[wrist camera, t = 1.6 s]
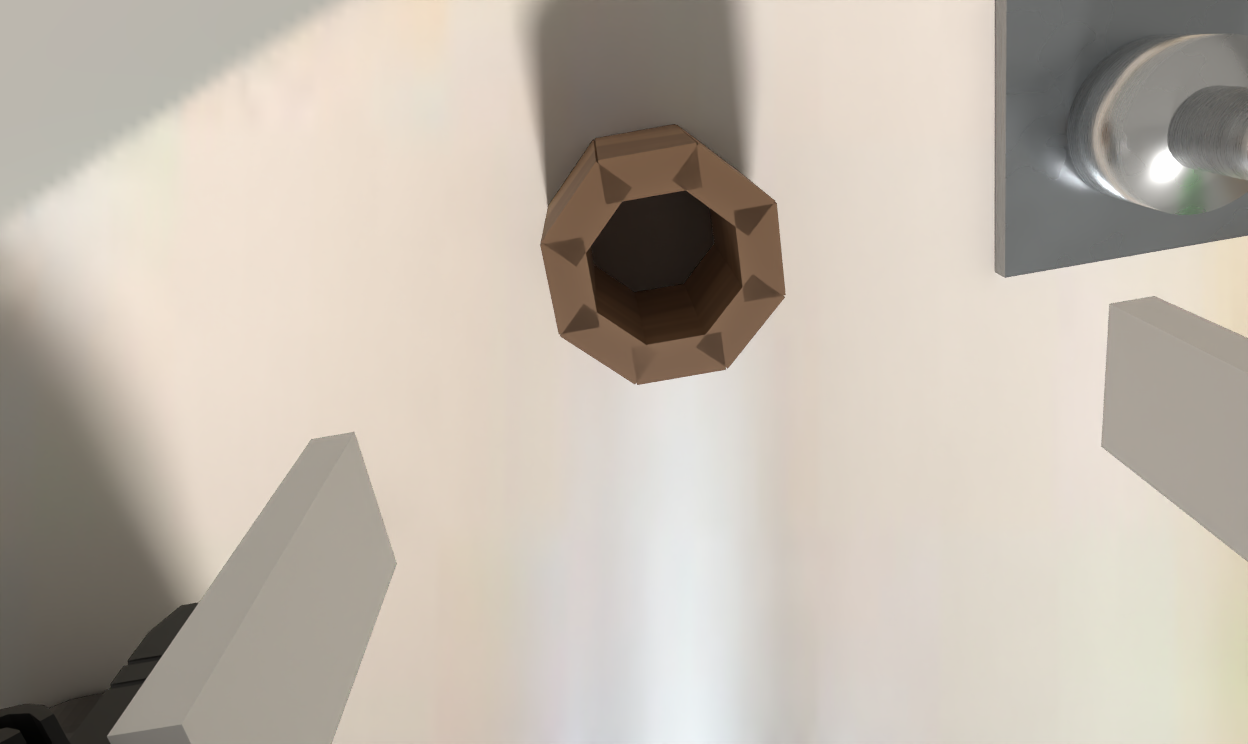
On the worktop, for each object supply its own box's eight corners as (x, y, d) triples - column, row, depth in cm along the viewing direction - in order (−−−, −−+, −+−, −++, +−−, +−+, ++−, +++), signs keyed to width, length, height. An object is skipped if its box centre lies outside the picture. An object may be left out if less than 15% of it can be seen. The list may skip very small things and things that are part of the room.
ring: (573, 335, 32) (571, 396, 27) (536, 148, 30) (525, 173, 24) (755, 303, 32) (791, 358, 27) (734, 113, 30) (769, 129, 24)
